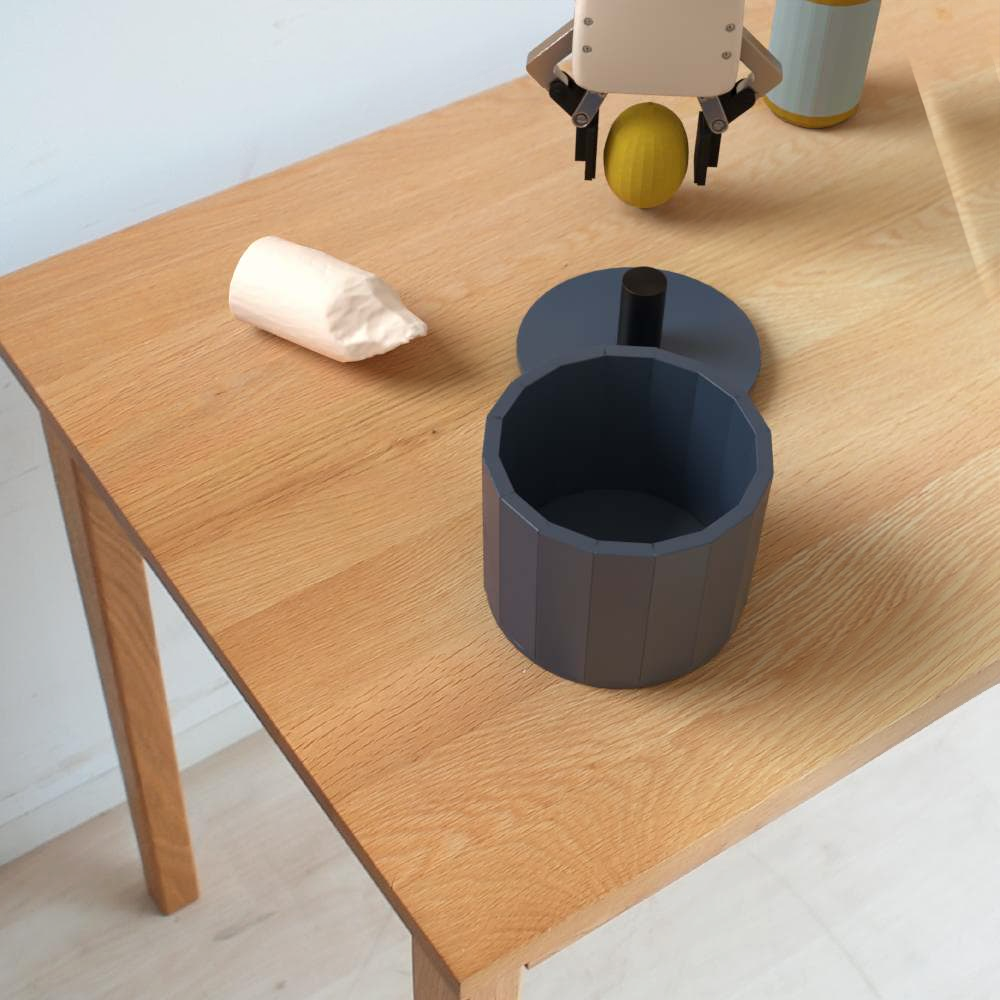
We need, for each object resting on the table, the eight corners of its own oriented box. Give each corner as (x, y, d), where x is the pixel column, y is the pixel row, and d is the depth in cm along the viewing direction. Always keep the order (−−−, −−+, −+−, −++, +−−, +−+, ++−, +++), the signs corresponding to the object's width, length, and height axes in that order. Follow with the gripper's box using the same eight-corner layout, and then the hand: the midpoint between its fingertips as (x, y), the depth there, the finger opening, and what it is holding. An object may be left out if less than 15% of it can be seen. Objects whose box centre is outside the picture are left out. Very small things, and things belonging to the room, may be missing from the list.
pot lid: (754, 287, 92) (767, 207, 87) (764, 455, 82) (779, 376, 77) (524, 275, 92) (525, 196, 88) (507, 440, 83) (507, 361, 78)
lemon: (698, 218, 96) (711, 115, 90) (625, 241, 94) (633, 138, 88) (656, 173, 99) (666, 71, 93) (585, 195, 98) (590, 92, 92)
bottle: (865, 132, 103) (909, -70, 91) (766, 131, 103) (798, -70, 91) (850, 77, 107) (891, -122, 96) (755, 77, 107) (785, -122, 96)
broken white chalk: (397, 410, 84) (391, 339, 80) (233, 338, 88) (220, 267, 84) (451, 350, 88) (449, 278, 83) (292, 283, 92) (282, 212, 88)
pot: (740, 491, 80) (766, 352, 72) (749, 697, 71) (780, 564, 63) (496, 478, 81) (495, 338, 73) (474, 680, 72) (471, 546, 64)
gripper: (819, -120, 83) (774, 143, 97) (519, -130, 84) (516, 131, 98) (828, -55, 78) (780, 212, 92) (510, -67, 79) (508, 199, 93)
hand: (644, 168), depth 95 cm, fingers open, 6 cm apart
